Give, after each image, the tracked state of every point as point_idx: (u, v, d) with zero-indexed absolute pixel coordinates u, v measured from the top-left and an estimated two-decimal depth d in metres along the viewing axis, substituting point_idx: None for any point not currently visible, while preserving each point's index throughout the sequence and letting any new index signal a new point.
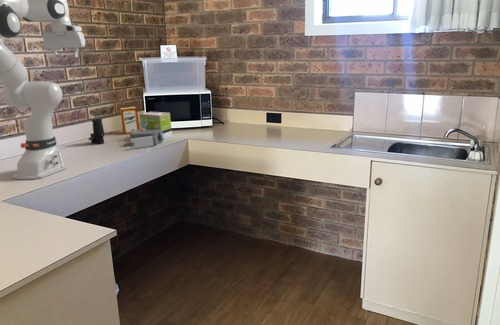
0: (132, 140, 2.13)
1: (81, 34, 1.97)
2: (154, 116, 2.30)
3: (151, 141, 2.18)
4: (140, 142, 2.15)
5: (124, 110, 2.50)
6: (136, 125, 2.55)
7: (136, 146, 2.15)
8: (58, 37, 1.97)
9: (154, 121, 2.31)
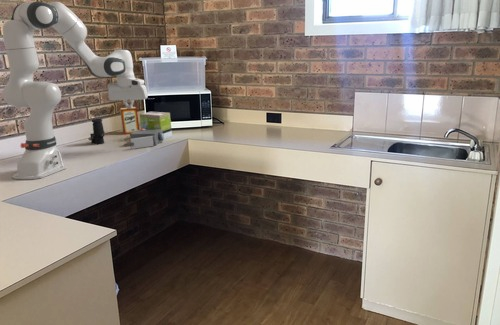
0: (132, 140, 2.13)
1: (144, 87, 2.09)
2: (154, 116, 2.30)
3: (151, 141, 2.18)
4: (140, 142, 2.15)
5: (124, 110, 2.50)
6: (136, 125, 2.55)
7: (136, 146, 2.15)
8: (123, 90, 2.09)
9: (154, 121, 2.31)
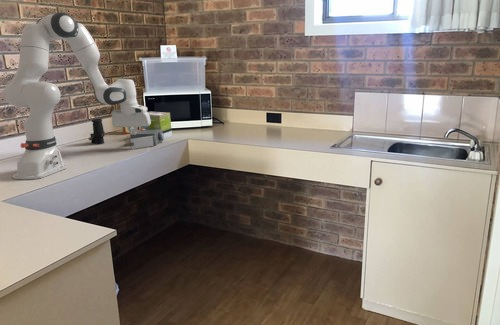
0: (132, 140, 2.13)
1: (147, 114, 2.14)
2: (154, 116, 2.30)
3: (151, 141, 2.18)
4: (140, 142, 2.15)
5: None
6: None
7: (136, 146, 2.15)
8: (126, 117, 2.13)
9: (154, 121, 2.31)
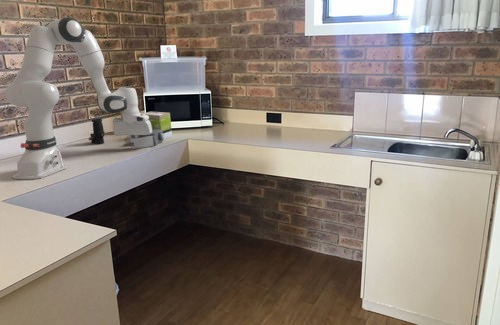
0: (132, 140, 2.13)
1: (149, 123, 2.13)
2: (154, 116, 2.30)
3: (151, 141, 2.18)
4: (140, 142, 2.15)
5: None
6: None
7: (136, 146, 2.14)
8: (128, 125, 2.12)
9: (154, 121, 2.31)
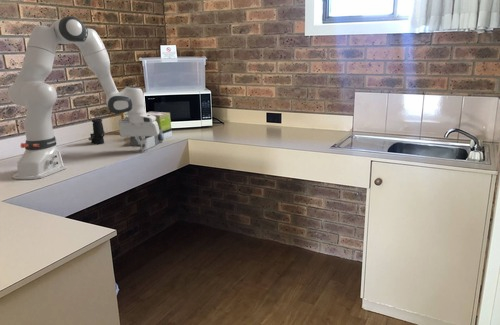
0: (143, 142, 2.08)
1: (156, 123, 2.08)
2: None
3: (154, 141, 2.17)
4: (147, 143, 2.12)
5: None
6: None
7: (145, 147, 2.11)
8: (134, 126, 2.07)
9: None
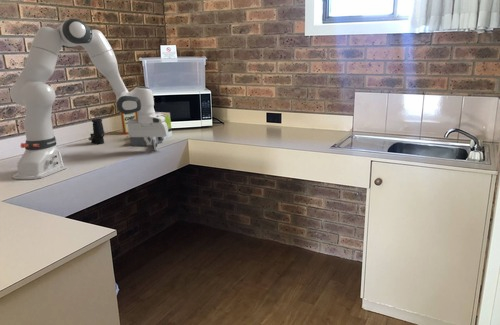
0: (155, 141, 2.08)
1: (165, 124, 2.06)
2: None
3: None
4: None
5: None
6: None
7: None
8: (143, 127, 2.06)
9: None
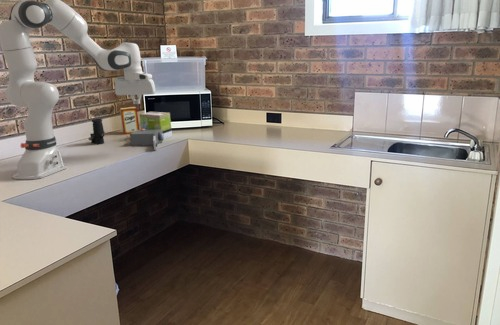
0: (155, 141, 2.08)
1: (152, 81, 2.02)
2: (154, 116, 2.30)
3: None
4: None
5: (124, 110, 2.50)
6: (136, 125, 2.55)
7: None
8: (130, 84, 2.02)
9: (154, 121, 2.31)
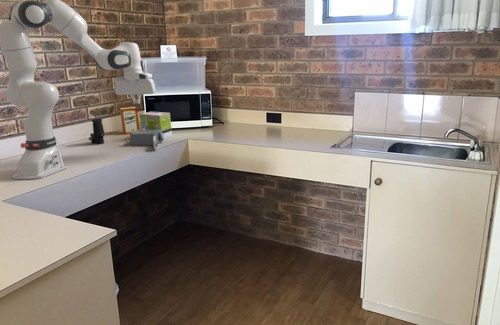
0: (155, 141, 2.08)
1: (152, 81, 2.02)
2: (154, 116, 2.30)
3: None
4: None
5: (124, 110, 2.50)
6: (136, 125, 2.55)
7: None
8: (130, 84, 2.02)
9: (154, 121, 2.31)
